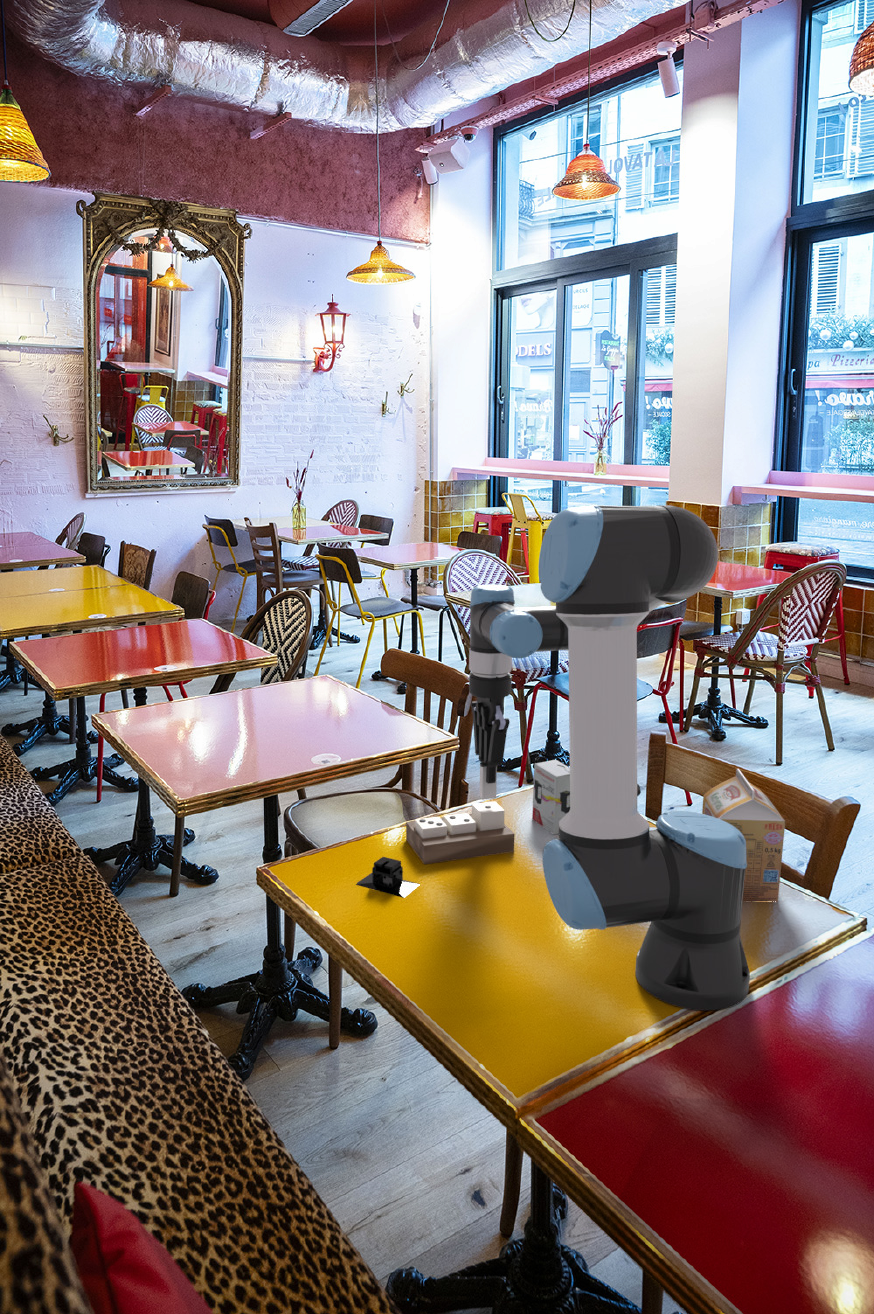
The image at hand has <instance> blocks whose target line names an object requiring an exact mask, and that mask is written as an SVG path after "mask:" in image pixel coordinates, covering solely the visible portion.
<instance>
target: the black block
mask: <svg viewBox="0 0 874 1314" xmlns="http://www.w3.org/2000/svg"><path fill="white" fill-rule="evenodd" d="M403 873H404V871H403V866H402V860H399V859H393V858H390V857H387V856H382V857H380V858H379V859H377V860H376V861H374V862H373V867H372V871H371V873H369V874H367V875H366V876H365V877H364V878H362V879H361V880H359V881H357V882H356V883H357V884H356V883H355V884H356V886H359V887H363V888H367V889H370V890H373V891H376V892H380V893H385V894H387V895H391V896H396V897H399V898H402V899H404V898H406V897H407V896H408V895H410V894H411V893H412V892H413V891H414V890H415V889H417V888H418V887H419V886H420V884H421V883H417V882H414V881H409V880H406V879H404V877H403Z"/></svg>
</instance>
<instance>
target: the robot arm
mask: <svg viewBox="0 0 874 1314" xmlns="http://www.w3.org/2000/svg"><path fill="white" fill-rule="evenodd" d="M718 558H719V550H718V544H717V540H716V538H715V535H714V533H713V531H712V529H711V528H710V527H709V526H708V524H707V523H706V522H705V521H704V520H703V519H702V518H701V516H698V515H697V514H695V513H694V512H692V511H690V510H688V509H686V508H683V507H678V506H674V505H671V504H670V505H665V504H664V505H662V504H661V505H660V504H659V505H638V506H637V505H593V504H591V505H587V506H586V505H585V506H579V507H578V506H577V507H570V508H565V509H563V510H561V511H559V512H558V513H557V514H556V515H555V516H554V517H553V518H552V520H550V522H549V524H548V526H547V529H546V530H545V533H544V535H543V537H542V542H541V546H540V551H539V557H538V581H539V582H540V591H541V593H542V595H543V597H544V598H545V599H546V600H547V601H549V602H552V603H553V604H555V605H548V606H547V605H546V606H545V605H544V606H542V605H541V606H540V605H539V606H522V607H521V606H518V607H517V606H515V603H516V602H515V596H514V595H515V594H514V590H513V588H512V587H511V586H507V585H504V584H503V585H502V584H481V585H477V586H474V587H473V588H472V590H471V592H470V603H469V609H470V611H469V612H470V614H469V615H470V616H469V617H470V618H469V649H468V651H469V653H468V656H469V660H468V661H469V662H468V669H469V671H470V673H469V678H468V691H469V694H470V695H471V696H473V697H476V701H471V702H470V707H471V713H472V722H473V723H472V725H473V739H474V754H475V756H478V761H479V798H480V799H481V800H491V799H497V780H498V779H497V778H498V777H497V775H498V771H497V770H498V766H502V765H503V762H504V755H505V748H506V742H507V741H506V740H507V732H508V728H509V726H510V719H509V718H508V717H507V718H505V717H504V714H505V708H504V703H503V700H504V699H505V698H506V697H508V696H510V695H511V693H512V679H513V677H512V675H511V672H512V668H513V667H512V664H513V662H512V661H513V659H526V658H528V657H529V656H532V655H534V654H535V653H541V652H553V651H554V652H555V651H557V652H558V651H567V652H568V717H569V718H568V719H569V720H568V722H569V723H568V728H569V730H568V731H569V735H568V736H569V768H570V811H569V812H568V813H567V814H566V815H565V816H564V817H563V818H562V819H561V820H560V821H559V834H558V839H557V838H552V839H551V840H550V841H548V842H546V844H545V845H544V848H543V852H542V867H543V868H542V869H543V875H544V878H545V884H546V889H547V890H548V891H547V892H548V893H549V897H550V900H551V902H552V904H553V906H554V909H555V911H556V913H557V914H558V916H559V918H560V919H561V920H562V921H563V922H564V924H566V925H567V926H568V927H570V928H572V929H573V930H577V931H583V930H586V931H587V930H596V929H598V930H601V931H603V930H606V929H608V928H615V927H621V926H628V925H629V926H630V925H637V924H643V923H650V925H649V927H648V929H647V931H646V932H645V933H646V934H645V936H644V937H643V941H642V943H641V946H640V948H639V949H638V950H637V951H638V952H637V953H636V957H635V978H636V980H637V982H638V984H639V985H640V986H641V987H642V988H643V989H644V991H646V992H647V993H648V994H650V995H651V996H653V997H654V998H656V999H658V1000H660V1001H662V1002H664V1003H667V1004H669V1005H672V1006H676V1007H679V1008H683V1009H688V1010H695V1011H718V1010H724V1009H728V1008H731V1007H734V1006H736V1005H738V1004H740V1003H741V1002H742V1001H744V1000H745V998H747V996H748V994H749V989H750V979H751V975H750V973H751V972H750V969H749V964H748V961H747V957H746V953H745V949H744V946H743V942H742V938H741V921H742V913H743V911H742V910H743V902H742V900H743V889H744V877H745V868H746V867H747V862H746V841H745V838H744V836H743V835H742V833H741V832H740V831H739V830H738V829H737V828H735V827H734V826H732V825H731V824H729V823H727V822H725V821H723V820H720V819H718V818H715V817H712V816H709V815H705V814H702V812H701V813H699V812H696V811H690V810H689V811H688V810H670V811H665V812H663V813H662V814H660V815H659V816H658V818H657V821H656V822H655V826H656V829H651V830H650V823H649V822H648V820H647V819H645V818H644V816H642V815H641V813H639V811H638V796H637V784H638V657H637V656H638V649H637V648H638V644H637V643H638V642H637V641H638V639H637V638H638V635H637V634H638V633H637V631H638V630H637V629H638V627H639V625H640V623H641V622H643V620H644V619H645V618H647V616H648V615H649V614H650V613H651V612H652V611H653V610H655V609H657V608H659V607H660V606H662V605H664V604H665V603H666V604H667V603H669V604H675V603H680V602H683V601H685V600H687V599H688V598H690V597H692V596H694V595H695V594H697V593H698V592H700V591H701V590H703V589H704V588H705V586H707V585H708V583H709V582H711V580H712V578H713V576H714V574H715V572H716V569H717V566H718Z"/></svg>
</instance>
